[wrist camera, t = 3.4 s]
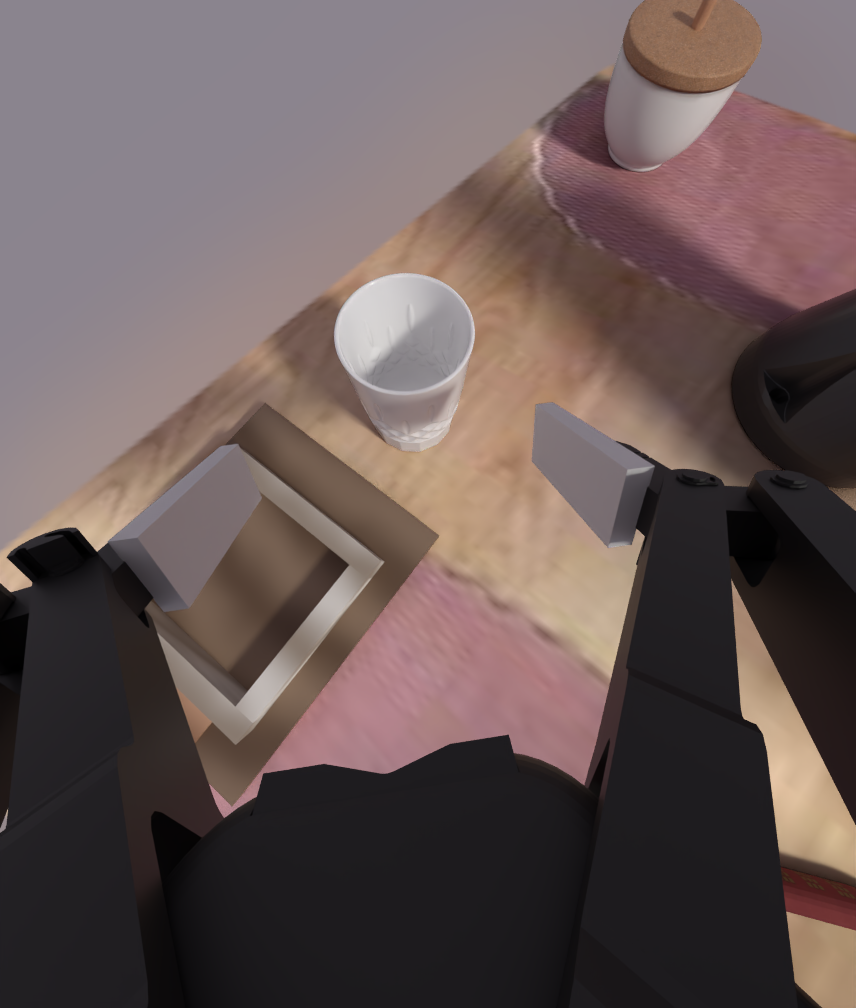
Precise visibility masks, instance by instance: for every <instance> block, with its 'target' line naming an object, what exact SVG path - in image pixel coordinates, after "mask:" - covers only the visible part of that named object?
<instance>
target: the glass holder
mask: <svg viewBox="0 0 856 1008" xmlns="http://www.w3.org/2000/svg"><path fill="white" fill-rule="evenodd" d="M233 444H239V447H240V449H241V451H242V454H243V456H244V458H245V460H246V463H247V465H248V467H249V469H250V472H251V474H252V476H253V479H254V481H255V483H256V485H257V488H258V490H259V492H260V495H261V497H262V499H261V500H260V502H259V503H258V505H257V506H256V508H255V509H254V511H253V512H252V514H251V515H250V517H249V518H248V520H247V521H246V523H245V525H244V526H243V528H242V529H241V531H240V532H239V534H238V535H237V537H236V538H235V540H234V541H233V543H232V544H231V546H230V547H229V549H228V550H227V552H226V553H225V555H224V556H223V558H222V559H221V561H220V562H219V564H218V566H217V567H216V569H215V570H214V572H213V573H212V575H211V576H210V578H209V579H208V581H207V582H206V584H205V585H204V587H203V588H202V590H201V591H200V593H199V594H198V596H197V597H196V599H195V600H194V602H193V603H192V605H191V607H190V608H189V609H182V610H175V611H168V612H163V610H162V609H161V608H160V607H159V605H158V604H157V603H156V602H155V600H154V599H152V600H151V601H150V603H149V604H148V605H147V606H146V608H145V610H146V611H147V612H148V613H149V614H150V615H151V617H152V619H153V622H154V625H155V628H156V631H157V633H158V636H159V639H160V642H161V645H162V648H163V651H164V654H165V657H166V660H167V663H168V666H169V669H170V672H171V674H172V677H173V680H174V683H175V686H176V689H177V692H178V695H179V698H180V701H181V704H182V707H183V710H184V713H185V716H186V718H187V721H188V724H189V727H190V730H191V733H192V736H193V739H194V742H195V745H196V748H197V751H198V754H199V757H200V759H201V762H202V765H203V768H204V771H205V774H206V777H207V780H208V783H209V784H210V785H211V786H212V787H213V788H214V789H215V790H216V791H217V792H218V793H219V794H220V795H221V796H222V797H223V798H224V799H225V800H226V801H227V802H228V803H229V804H230V805H231V806H233V805H234V804H235V802H236V801H237V800H238V799H239V798H240V797H241V795H242V794H243V793H244V792H245V790H246V789H247V788H248V786H249V785H250V784H251V782H252V781H253V780H254V779H255V777H256V776H257V775H258V773H259V772H260V771H261V769H262V768H263V767H264V765H265V764H266V763H267V761H268V760H269V759H270V758H271V756H272V755H273V754H274V752H275V751H276V750H277V748H278V747H279V746H280V744H281V743H282V742H283V740H284V739H285V738H286V737H287V735H288V734H289V733H290V731H291V730H292V729H293V727H294V726H295V725H296V723H297V722H298V721H299V719H300V718H301V717H302V716H303V714H304V713H305V712H306V710H307V709H308V708H309V706H310V705H311V704H312V702H313V701H314V700H315V699H316V697H317V696H318V695H319V693H320V692H321V691H322V689H323V688H324V687H325V685H326V684H327V683H328V681H329V680H330V679H331V678H332V676H333V675H334V674H335V672H336V671H337V670H338V668H339V667H340V666H341V664H342V663H343V662H344V660H345V659H346V658H347V657H348V655H349V654H350V653H351V651H352V650H353V649H354V647H355V646H356V645H357V643H358V642H359V641H360V639H361V638H362V637H363V636H364V634H365V633H366V632H367V630H368V629H369V628H370V626H371V625H372V624H373V622H374V621H375V620H376V618H377V617H378V616H379V615H380V613H381V612H382V611H383V609H384V608H385V607H386V605H387V604H388V603H389V601H390V600H391V599H392V597H393V596H394V595H395V594H396V592H397V591H398V590H399V588H400V587H401V586H402V584H403V583H404V582H405V580H406V579H407V578H408V577H409V575H410V574H411V573H412V571H413V570H414V569H415V567H416V566H417V565H418V563H419V562H420V561H421V559H422V558H423V557H424V556H425V554H426V553H427V552H428V550H429V549H430V548H431V546H432V545H433V544H434V542H435V541H436V540H437V538H438V537H439V535H438V534H436V533H435V532H434V531H432V530H431V529H430V528H428V527H427V526H426V525H425V524H423V523H422V522H421V521H419V520H418V519H417V518H415V517H414V516H413V515H411V514H410V513H409V512H407V511H406V510H405V509H404V508H402V507H401V506H400V505H398V504H397V503H396V502H394V501H393V500H392V499H390V498H389V497H388V496H386V495H385V494H384V493H383V492H381V491H380V490H379V489H377V488H376V487H375V486H373V485H372V484H371V483H369V482H368V481H367V480H365V479H364V478H363V477H362V476H360V475H359V474H358V473H356V472H355V471H354V470H352V469H351V468H350V467H348V466H347V465H346V464H344V463H343V462H342V461H341V460H339V459H338V458H337V457H335V456H334V455H333V454H331V453H330V452H329V451H327V450H326V449H325V448H323V447H322V446H321V445H320V444H318V443H317V442H316V441H314V440H313V439H312V438H310V437H309V436H308V435H306V434H305V433H304V432H302V431H301V430H300V429H299V428H297V427H296V426H295V425H293V424H292V423H291V422H289V421H288V420H287V419H285V418H284V417H283V416H281V415H280V414H279V413H278V412H276V411H275V410H274V409H272V408H271V407H270V406H268V405H267V404H266V403H265V404H264V405H263V406H262V407H261V408H260V409H259V410H258V411H257V412H256V413H255V414H254V415H253V417H252V418H251V419H250V420H249V421H248V422H247V423H246V424H245V425H244V426H243V427H242V428H241V429H240V430H239V431H238V432H237V433H236V434H235V435H234V436H233V438H232V439H231V440H230V441H229V442H228V443H227V444H226V445H233Z"/></svg>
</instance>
